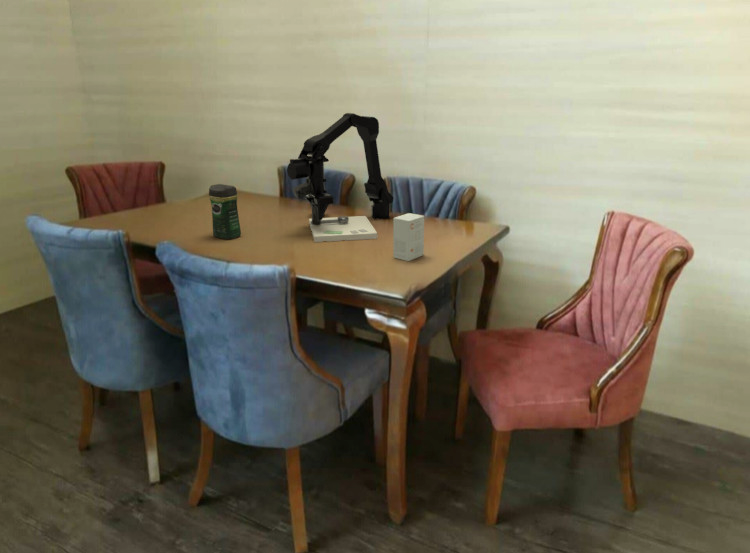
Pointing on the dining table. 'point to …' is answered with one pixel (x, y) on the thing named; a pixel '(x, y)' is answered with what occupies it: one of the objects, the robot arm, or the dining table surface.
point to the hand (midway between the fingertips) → (317, 218)
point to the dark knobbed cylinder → (317, 222)
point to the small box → (408, 236)
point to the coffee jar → (224, 211)
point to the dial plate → (344, 230)
